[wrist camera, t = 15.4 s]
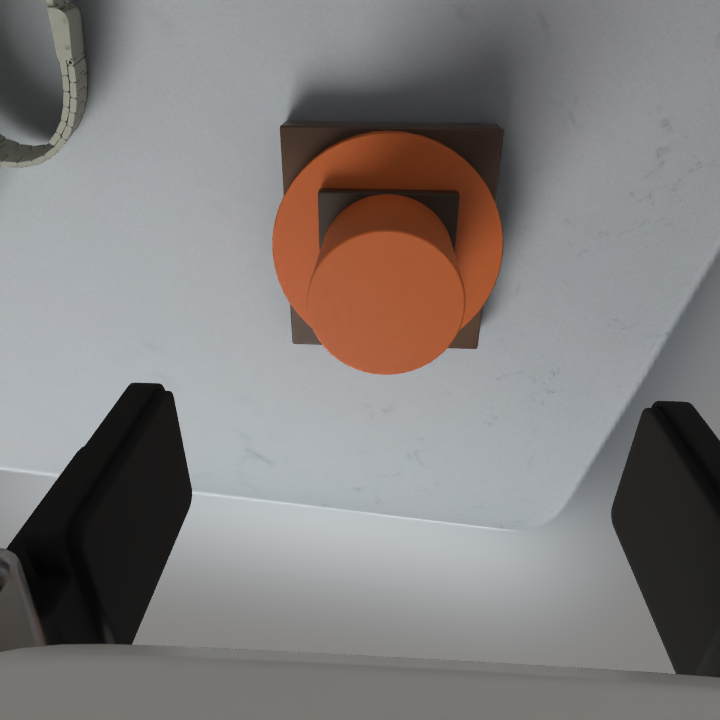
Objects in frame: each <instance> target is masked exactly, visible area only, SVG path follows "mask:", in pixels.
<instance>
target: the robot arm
mask: <svg viewBox="0 0 720 720" xmlns="http://www.w3.org/2000/svg"><path fill="white" fill-rule="evenodd" d="M191 499H192V488H191V483H190V478H189V473H188V468H187V462H186V457H185V452H184V447H183V442H182V437H181V432H180V427H179V422H178V417H177V412H176V407H175V401H174V397H173V394H172V392H170V391H165V389H164V387H163V385H161V384H157V383H131V384H130V385H129V386H128V387H127V389H126V390H125V391H124V393H123V394H122V396H121V397H120V398H119V400H118V401H117V402H116V404H115V405H114V407H113V408H112V409H111V411H110V412H109V413H108V415H107V416H106V418H105V419H104V420H103V422H102V423H101V424H100V426H99V427H98V429H97V430H96V431H95V433H94V434H93V435H92V437H91V438H90V440H89V441H88V442H87V444H86V445H85V446H84V447H82V448H81V449H80V450H79V451H78V452H77V453H76V454H75V456H74V457H73V459H72V460H71V461H70V463H69V464H68V465H67V467H66V468H65V469H64V471H63V472H62V474H61V475H60V476H59V478H58V479H57V481H56V482H55V483H54V485H53V486H52V487H51V489H50V490H49V491H48V493H47V494H46V496H45V497H44V498H43V500H42V501H41V502H40V504H39V505H38V506H37V508H36V509H35V510H34V512H33V513H32V515H31V516H30V517H29V519H28V520H27V522H26V523H25V524H24V525H23V527H22V528H21V530H20V531H19V532H18V534H17V535H16V536H15V538H14V539H13V540H12V542H11V543H10V545H9V546H8V547H7V549H2V548H0V720H720V441H719V440H718V438H717V437H716V435H715V434H714V433H713V431H712V430H711V429H710V427H709V426H708V425H707V423H706V422H705V421H704V420H703V418H702V417H701V416H700V414H699V413H698V412H697V410H696V409H695V408H694V407H693V406H692V404H690V403H688V402H675V401H657V402H655V403H654V404H653V405H652V407H651V408H646V409H644V410H643V412H642V414H641V418H640V421H639V424H638V427H637V430H636V433H635V437H634V440H633V443H632V446H631V449H630V452H629V455H628V459H627V462H626V465H625V468H624V471H623V474H622V477H621V480H620V484H619V487H618V490H617V493H616V496H615V500H614V502H613V506H612V511H611V516H612V523H613V526H614V529H615V531H616V534H617V536H618V538H619V541H620V543H621V545H622V548H623V550H624V552H625V555H626V557H627V560H628V562H629V564H630V566H631V569H632V571H633V573H634V576H635V578H636V581H637V583H638V585H639V588H640V590H641V592H642V594H643V597H644V599H645V602H646V604H647V606H648V609H649V611H650V614H651V616H652V618H653V621H654V623H655V625H656V628H657V630H658V632H659V635H660V637H661V639H662V642H663V644H664V646H665V649H666V651H667V654H668V656H669V658H670V661H671V663H672V665H673V668H674V670H675V672H676V674H668V673H655V672H641V671H624V670H608V669H592V668H575V667H558V666H542V665H525V664H508V663H492V662H473V661H456V660H438V659H419V658H402V657H383V656H365V655H346V654H329V653H308V652H288V651H268V650H248V649H227V648H208V647H207V648H206V647H185V646H155V645H132V643H133V640H134V638H135V636H136V633H137V631H138V628H139V626H140V624H141V621H142V619H143V617H144V614H145V612H146V610H147V607H148V605H149V602H150V600H151V597H152V595H153V593H154V590H155V588H156V586H157V583H158V581H159V579H160V576H161V574H162V572H163V569H164V567H165V565H166V562H167V560H168V557H169V555H170V553H171V550H172V548H173V545H174V543H175V540H176V538H177V536H178V534H179V531H180V529H181V527H182V524H183V522H184V519H185V517H186V514H187V512H188V510H189V507H190V504H191Z"/></svg>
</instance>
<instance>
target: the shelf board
mask: <svg viewBox="0 0 720 720" xmlns="http://www.w3.org/2000/svg"><path fill="white" fill-rule="evenodd" d="M374 131H402V132H409V133H414V134H418V135H422V136H425V137H428V138H430V139H433V140H436V141H438V142H440V143H442V144H443V145H445V146H447V147H449V148H451V149H452V150H454V151H455V152H456V153H458V154H459V155H460V156H462V157H463V158H464V159H465V160H466V161H467V162H468V163H469V164H470V165H471V166H472V167H473V168H474V169H475V170H476V171H477V173H478V174H479V175H480V177H481V178H482V179H483V181H484V182H485V184H486V185H487V187H488V189H489V191H490V193H491V194H492V196H493V198H494V201H495V200H496V192H497V184H498V176H499V168H500V159H501V151H502V143H503V135H504V129H503V128H502V127H501V126H500V125H498V124H485V123H408V122H331V121H286V122H285V123H283V124H282V125H281V126H280V137H281V154H282V171H283V188H284V195H285V193H286V192H287V190H288V188H289V187H290V185H291V183H292V182H293V180H294V179H295V177H296V176H297V175H298V174H299V173H300V171H301V170H302V169H303V168H304V167H305V166H306V165H307V164H308V163H309V162H310V161H311V160H312V159H313V158H314V157H315V156H317V155H318V154H320V153H321V152H322V151H324V150H325V149H327V148H328V147H330V146H332V145H334V144H336V143H338V142H340V141H342V140H344V139H347V138H350V137H353V136H356V135H359V134H364V133H369V132H374ZM290 308H291V325H292V342H293V344H317V345H322V343H321V342H320V341H319V340H318V338H317V336H316V334H315V333H314V331H313V328H312V327H310V326H309V325H308V324H307V323H306V322H305V321H304V320H303V319H302V318H301V317H300V316H299V315H298V313H297V312H296V311H295V309H294V308H293V307H292V305H291V304H290ZM481 314H482V308H481V309H480V310H479V312H478V313H477V314H476V315H475V316H474V317H473V318H472V320H471V321H469V322H468V323H467V324H466V325H465V326H464V327H463V328H462V329H460V330H459V331H458V334H457V335H456V337H455V338H454V340H453V341H452V343H451V344H450V345H449V346H448V348H463V349H477V347H478V339H479V331H480V323H481Z"/></svg>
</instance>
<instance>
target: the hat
mask: <svg viewBox="0 0 720 720" xmlns="http://www.w3.org/2000/svg"><path fill="white" fill-rule="evenodd" d="M502 254H503V232H502V224H501V220H500V215H499V211H498V209H497V206H496V203H495V201H494V198H493V196H492V194H491V193H490V191H489V189H488V187H487V185H486V184H485V182H484V181H483V179H482V178H481V177H480V175H479V174H478V173H477V171H476V170H475V169H474V168H473V167H472V166H471V165H470V164H469V163H468V162H467V161H466V160H465V159H464V158H463V157H462V156H460V155H459V154H458V153H456V152H455V151H454V150H452V149H451V148H449V147H447V146H445V145H443V144H442V143H440V142H438V141H436V140H433V139H430V138H428V137H425V136H422V135H418V134H414V133H409V132H402V131H374V132H369V133H364V134H359V135H356V136H353V137H350V138H347V139H344V140H342V141H340V142H338V143H336V144H334V145H332V146H330V147H328V148H327V149H325V150H324V151H322V152H321V153H320V154H318V155H317V156H315V157H314V158H313V159H312V160H311V161H310V162H309V163H308V164H307V165H306V166H305V167H304V168H303V169H302V170H301V171H300V173H299V174H298V175H297V176H296V177H295V179H294V180H293V182H292V183H291V185H290V187H289V188H288V190H287V192H286V193H285V195H284V197H283V200H282V202H281V204H280V207H279V209H278V213H277V216H276V220H275V224H274V231H273V258H274V265H275V269H276V273H277V276H278V280H279V282H280V285H281V287H282V289H283V292H284V294H285V295H286V297H287V299H288V301H289V302H290V304H291V305H292V307H293V308H294V309H295V311H296V312H297V313H298V315H299V316H300V317H301V318H302V319H303V320H304V321H305V322H306V323H307V324H308V325H309V326H310V327H312V328H313V331H314V333H315V334H316V336H317V338H318V340H319V341H320V342H321V343H322V345H323V346H324V347H325V348H326V349H327V350H328V351H329V352H330V353H331V354H332V355H333V356H334V357H336V358H337V359H338V360H340V361H341V362H343V363H344V364H346V365H348V366H350V367H352V368H355V369H357V370H361V371H364V372H368V373H373V374H383V375H384V374H399V373H404V372H408V371H412V370H415V369H417V368H420V367H422V366H424V365H426V364H428V363H430V362H431V361H433V360H434V359H436V358H437V357H438V356H439V355H441V354H442V353H443V352H444V351H445V350H446V349H447V348H448V346H449V345H450V344H451V343H452V341H453V340H454V338H455V337H456V335H457V334H458V331H459V330H460V329H462V328H463V327H464V326H465V325H466V324H467V323H468V322H469V321H471V320H472V318H473V317H474V316H475V315H476V314H477V313H478V312H479V310H480V309H481V308H482V306H483V305H484V303H485V302H486V300H487V299H488V297H489V295H490V293H491V291H492V289H493V287H494V285H495V282H496V280H497V277H498V274H499V271H500V266H501V261H502Z"/></svg>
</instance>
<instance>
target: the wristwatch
mask: <svg viewBox="0 0 720 720" xmlns="http://www.w3.org/2000/svg"><path fill="white" fill-rule="evenodd" d="M65 1H67V0H46V3H47V5H48V6H50V7H47V11H48V16H49V21H50V26H51V30H52V35H53V40H54V45H55V50H56V55H57V60H60V66H61V74H62V75H63V76H62V82H63V90H64V96H63V105H64V107H63V110H62V115H61V122H60V124H59V126H58V128H57V130H56V133H55V134H54V135H53V137H52V138H51V139H50V141H49V144H47V145H38V146H32V145H23V144H19V143H17V142H14V141H12V140H9V139H5V137H4V136H2V135H1V134H0V165H1V164H2V166H4V167H19V168H23V167H28V166H33V165H38V164H40V163H42V162H44V161H46V160H47V159H50V158H51V157H53V156H54V155H55V154H56V153H57V152H58V151H59V150H60V149H61V148H62V147H63V145H64V144H65V143H66V142H67V141H68V139H69V138H70V137H71V136H72V134H73V133H74V131H75V130H76V128H77V127H78V126H79V123H80V120H81V118H82V115H83V114H84V108H85V101H86V99H87V88H86V87H87V74H86V71H87V69H86V60H85V58H83V57H84V56H85V53H84V52H83V51H84V41H83V30H82V18H81V13H80V11H79V9H78V8H77V7H76V6H74V5H73V4H70V3H67V2H65Z"/></svg>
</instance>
